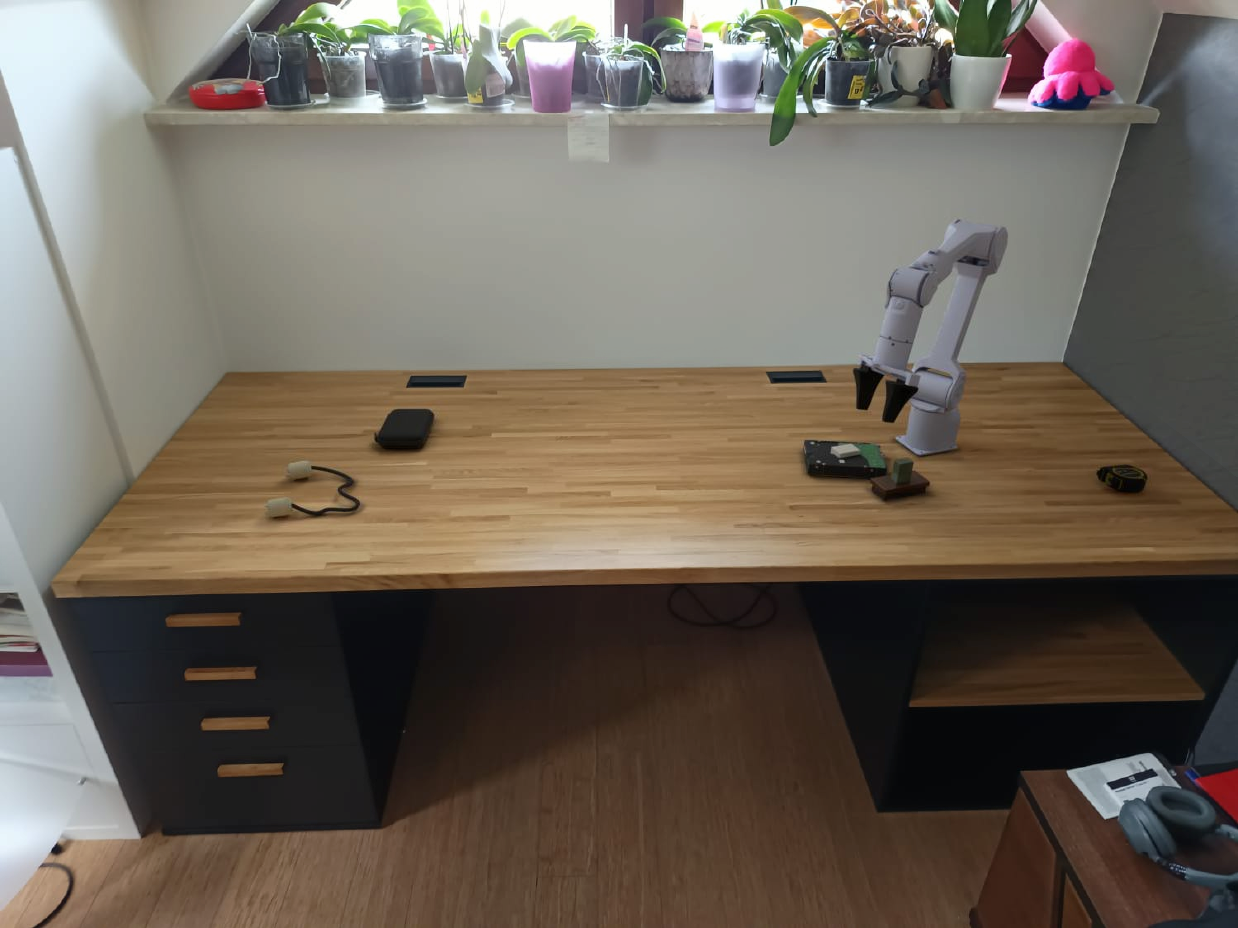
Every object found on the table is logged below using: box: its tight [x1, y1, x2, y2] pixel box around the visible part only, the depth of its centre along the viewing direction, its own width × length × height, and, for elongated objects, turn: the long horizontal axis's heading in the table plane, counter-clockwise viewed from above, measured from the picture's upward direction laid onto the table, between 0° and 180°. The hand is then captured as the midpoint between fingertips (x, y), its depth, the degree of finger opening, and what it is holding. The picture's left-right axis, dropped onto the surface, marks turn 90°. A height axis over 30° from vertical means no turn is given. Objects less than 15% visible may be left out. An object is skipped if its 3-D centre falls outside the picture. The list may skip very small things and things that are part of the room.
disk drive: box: [802, 439, 889, 480], centre depth 168 cm, size 10×3×15 cm
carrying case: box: [373, 408, 435, 449], centre depth 178 cm, size 11×3×15 cm
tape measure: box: [1095, 464, 1148, 494], centre depth 161 cm, size 7×7×4 cm
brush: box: [869, 456, 931, 502], centre depth 158 cm, size 10×5×6 cm, turn 110°
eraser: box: [831, 444, 860, 458], centre depth 167 cm, size 4×3×1 cm, turn 110°
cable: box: [264, 460, 361, 518], centre depth 156 cm, size 16×16×4 cm
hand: (874, 415), depth 152 cm, fingers open, 7 cm apart
